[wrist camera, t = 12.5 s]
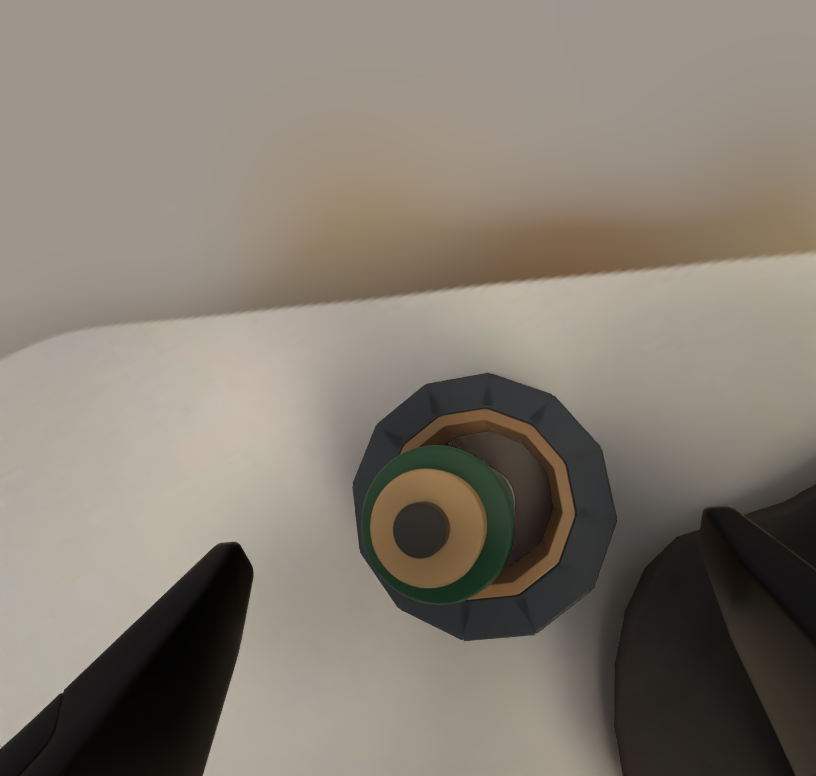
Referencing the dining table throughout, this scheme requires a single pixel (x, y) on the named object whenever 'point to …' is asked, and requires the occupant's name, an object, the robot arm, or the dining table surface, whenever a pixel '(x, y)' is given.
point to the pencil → (438, 524)
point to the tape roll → (569, 484)
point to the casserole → (696, 665)
